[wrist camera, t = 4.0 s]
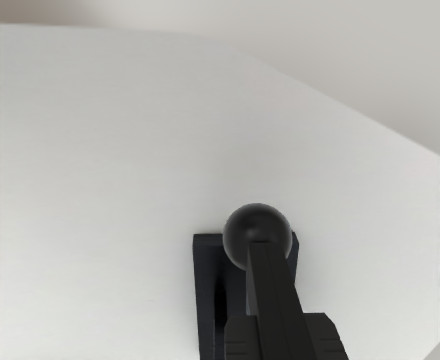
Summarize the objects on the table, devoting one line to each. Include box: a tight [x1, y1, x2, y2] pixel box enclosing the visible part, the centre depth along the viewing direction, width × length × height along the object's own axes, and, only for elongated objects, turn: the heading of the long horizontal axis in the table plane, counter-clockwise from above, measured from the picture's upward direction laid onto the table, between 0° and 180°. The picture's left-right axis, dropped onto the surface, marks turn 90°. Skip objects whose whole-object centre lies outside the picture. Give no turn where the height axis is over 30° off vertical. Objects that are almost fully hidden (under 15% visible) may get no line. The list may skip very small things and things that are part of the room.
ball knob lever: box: [223, 203, 292, 315], centre depth 18 cm, size 15×4×4 cm, turn 1°
